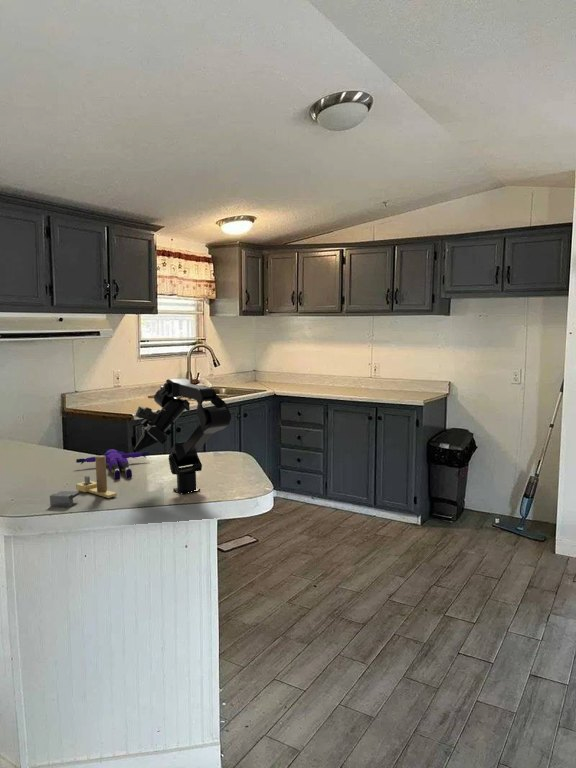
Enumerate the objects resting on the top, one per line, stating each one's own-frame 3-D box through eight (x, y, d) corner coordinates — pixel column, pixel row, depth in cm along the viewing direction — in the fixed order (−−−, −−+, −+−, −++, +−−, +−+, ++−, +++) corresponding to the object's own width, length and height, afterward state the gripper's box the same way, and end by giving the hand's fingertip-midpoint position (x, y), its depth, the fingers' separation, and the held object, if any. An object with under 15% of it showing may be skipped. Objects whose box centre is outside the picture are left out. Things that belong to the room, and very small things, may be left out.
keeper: (61, 499, 170) (61, 489, 170) (80, 500, 169) (79, 490, 169) (50, 506, 164) (49, 495, 163) (69, 507, 163) (68, 496, 163)
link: (76, 489, 179) (74, 453, 178) (90, 486, 183) (88, 450, 182) (105, 498, 169) (103, 460, 168) (119, 494, 173) (118, 457, 172)
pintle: (97, 490, 179) (96, 476, 179) (83, 493, 177) (83, 479, 176) (91, 487, 183) (90, 474, 182) (78, 490, 180) (77, 476, 179)
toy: (162, 476, 199) (146, 457, 226) (162, 461, 198) (145, 444, 225) (81, 486, 188) (74, 465, 215) (81, 470, 187) (73, 451, 214)
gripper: (146, 394, 186) (113, 429, 183) (154, 400, 169) (117, 439, 166) (171, 416, 190) (139, 451, 187) (181, 424, 173) (146, 462, 170)
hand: (135, 450), depth 177 cm, fingers closed
